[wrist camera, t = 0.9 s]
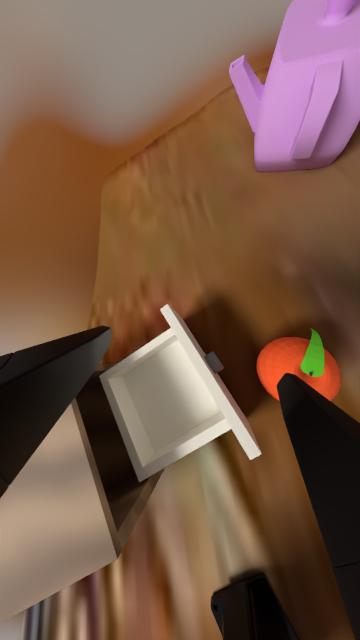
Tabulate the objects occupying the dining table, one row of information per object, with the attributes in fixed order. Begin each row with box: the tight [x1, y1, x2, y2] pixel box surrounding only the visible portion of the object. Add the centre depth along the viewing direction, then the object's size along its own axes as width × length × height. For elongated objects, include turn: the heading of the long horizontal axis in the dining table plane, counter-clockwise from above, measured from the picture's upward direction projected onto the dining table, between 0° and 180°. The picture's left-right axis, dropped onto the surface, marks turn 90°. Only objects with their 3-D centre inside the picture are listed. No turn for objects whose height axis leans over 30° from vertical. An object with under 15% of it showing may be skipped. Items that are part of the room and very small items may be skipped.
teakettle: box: [229, 0, 360, 172], centre depth 21 cm, size 17×17×12 cm
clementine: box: [256, 328, 341, 401], centre depth 17 cm, size 8×7×7 cm
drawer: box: [99, 304, 261, 482], centre depth 18 cm, size 15×14×7 cm
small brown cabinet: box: [0, 363, 164, 623], centre depth 19 cm, size 15×13×10 cm
